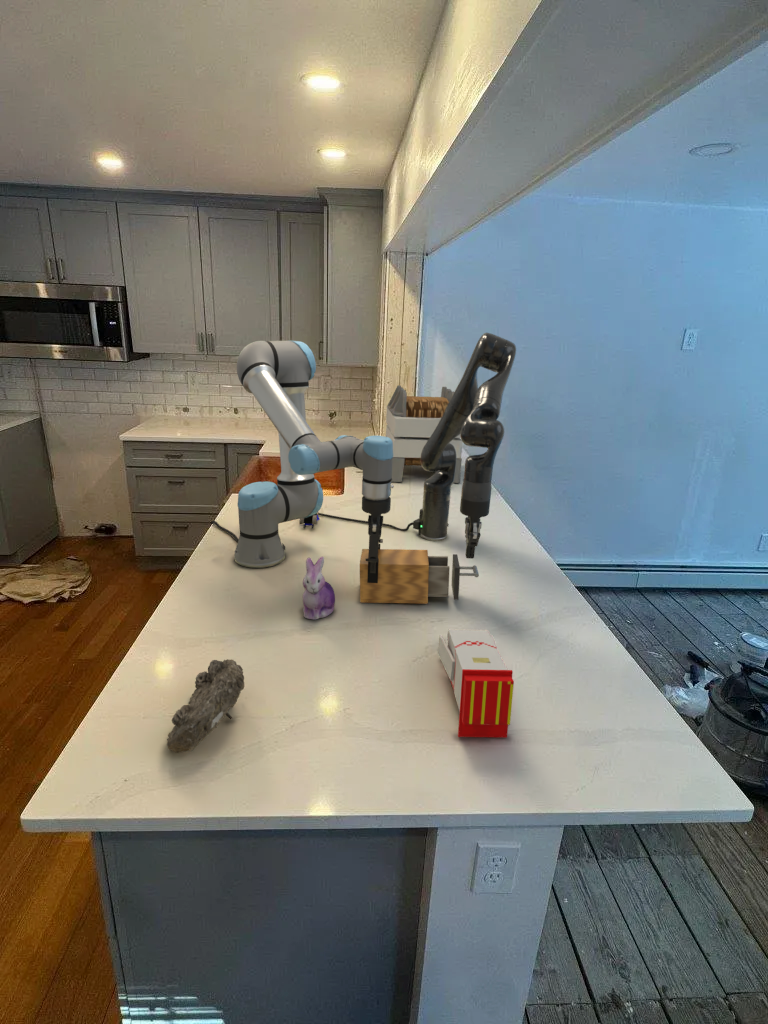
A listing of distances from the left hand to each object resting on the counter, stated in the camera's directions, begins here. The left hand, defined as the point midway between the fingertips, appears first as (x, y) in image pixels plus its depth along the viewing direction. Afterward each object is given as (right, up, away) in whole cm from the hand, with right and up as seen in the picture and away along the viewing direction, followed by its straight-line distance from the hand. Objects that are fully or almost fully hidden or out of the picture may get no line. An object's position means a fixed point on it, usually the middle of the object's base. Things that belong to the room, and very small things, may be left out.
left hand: (373, 573), depth 155 cm
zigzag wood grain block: (+6, -6, +2) cm, 8 cm away
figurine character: (-24, +12, +50) cm, 57 cm away
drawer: (+17, -5, +1) cm, 18 cm away
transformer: (+20, +36, +120) cm, 127 cm away
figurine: (-14, -9, -8) cm, 19 cm away
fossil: (-30, -22, -47) cm, 60 cm away
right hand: (+26, +5, -3) cm, 26 cm away
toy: (+21, -21, -36) cm, 47 cm away
